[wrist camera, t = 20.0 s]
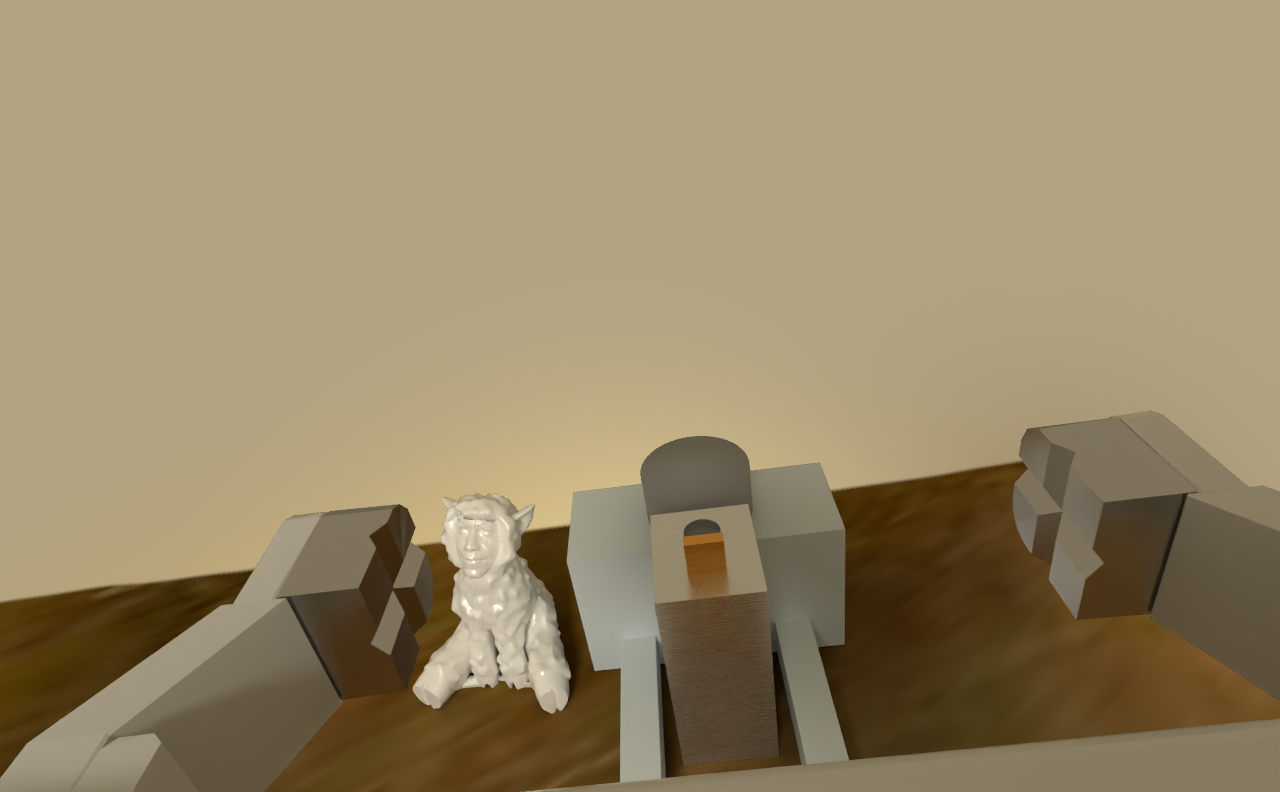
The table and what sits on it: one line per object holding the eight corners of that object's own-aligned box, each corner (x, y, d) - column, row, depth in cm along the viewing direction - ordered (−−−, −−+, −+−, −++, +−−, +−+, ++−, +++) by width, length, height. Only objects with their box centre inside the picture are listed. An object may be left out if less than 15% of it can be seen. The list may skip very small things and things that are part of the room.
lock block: (683, 765, 39) (648, 573, 32) (676, 670, 44) (645, 487, 37) (779, 756, 38) (765, 560, 31) (761, 661, 44) (745, 475, 36)
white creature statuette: (414, 713, 44) (345, 565, 38) (461, 603, 51) (410, 463, 45) (568, 716, 42) (522, 562, 36) (594, 602, 49) (560, 457, 43)
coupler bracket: (576, 1080, 28) (504, 929, 22) (597, 596, 50) (564, 452, 44) (973, 1051, 27) (1011, 884, 21) (821, 571, 49) (818, 420, 43)
